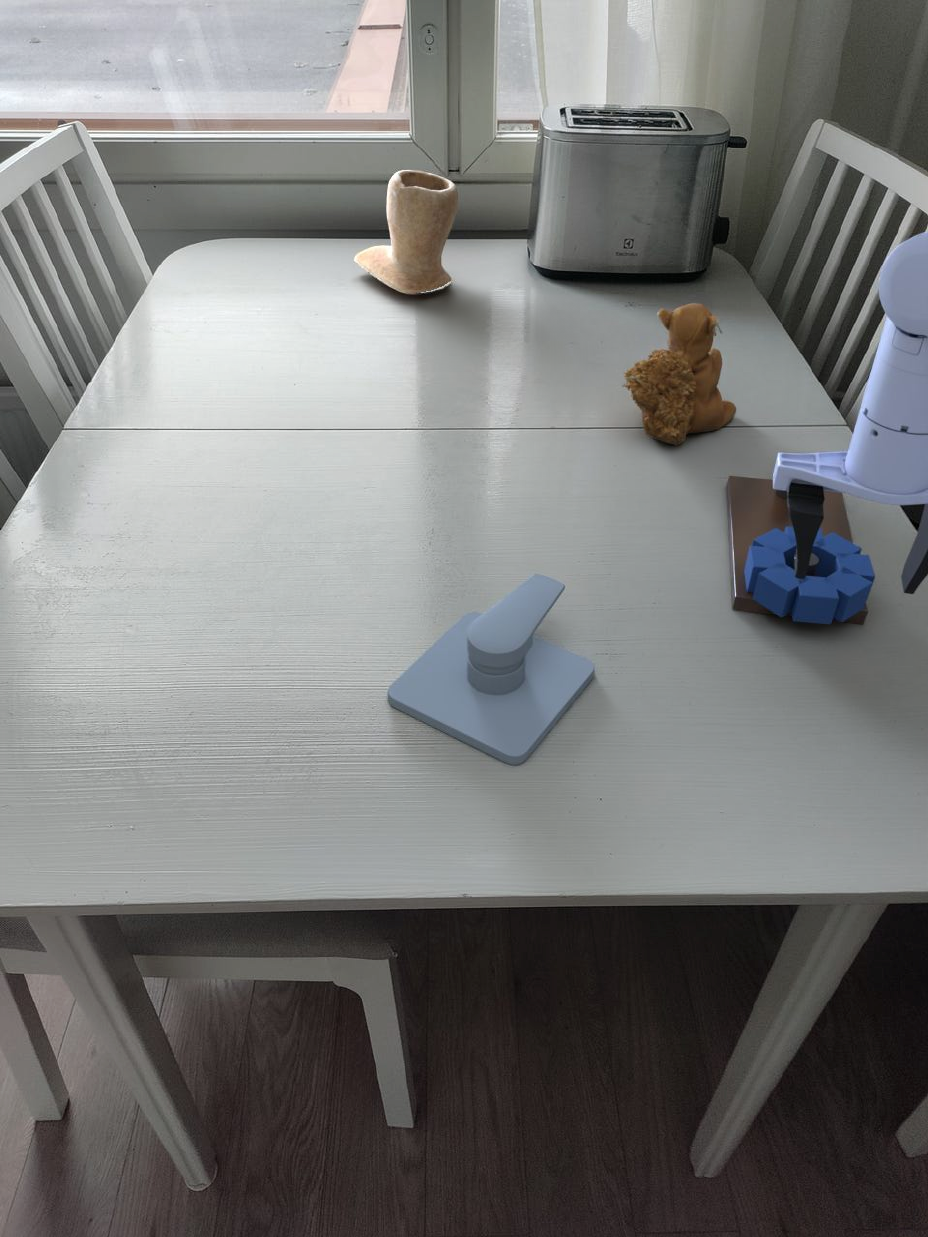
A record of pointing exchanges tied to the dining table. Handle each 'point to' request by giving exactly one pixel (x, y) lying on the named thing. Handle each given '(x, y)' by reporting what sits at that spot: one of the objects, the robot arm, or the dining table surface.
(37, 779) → the dining table surface
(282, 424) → the dining table surface
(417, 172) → the stone cup
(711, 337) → the stuffed squirrel
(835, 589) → the ring
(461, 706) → the shower valve
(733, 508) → the peg rack
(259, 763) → the dining table surface
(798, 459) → the robot arm
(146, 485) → the dining table surface
